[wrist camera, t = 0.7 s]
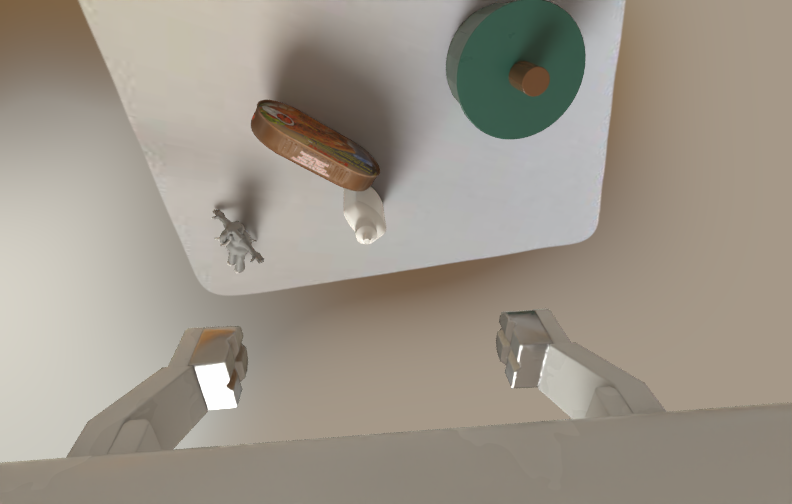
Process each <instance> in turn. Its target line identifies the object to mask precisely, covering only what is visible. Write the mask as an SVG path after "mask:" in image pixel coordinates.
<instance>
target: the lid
mask: <svg viewBox="0 0 792 504" xmlns="http://www.w3.org/2000/svg"><path fill="white" fill-rule="evenodd" d="M584 69H585V46H584V41H583V37H582V35H581V32H580V29H579V28H578V26H577V24H576V22H575V21H574V20H573V18H572V17H571V16H570V15H569V14H568V13H567V12H566V11H565V10H564V9H562V8H561V7H559V6H558V5H556V4H553V3H551V2H548V1H544V0H517V1H512V2H509V3H507V4H504V5H502V6H500V7H498V8H497V9H495V10H493V11H492V12H491V13H489V14H488V15H486V16H485V17H484V18H483V19H482V20H481V21H480V22H479V23H478V24H477V25H476V27H475V28H474V29H473V30H472V32H471V33H470V35H469V36H468V38H467V40H466V42H465V44H464V45H463V48H462V50H461V53H460V56H459V59H458V63H457V69H456V91H457V96H458V100H459V103H460V105H461V108H462V110H463V111H464V113H465V115H466V116H467V118H468V119H469V120H470V121H471V122H472V123H473V124H474V125H475V126H476V127H477V128H478V129H480V130H481V131H482V132H484V133H486V134H488V135H490V136H493V137H496V138H501V139H520V138H524V137H528V136H531V135H534V134H536V133H538V132H540V131H542V130H544V129H546V128H547V127H549V126H550V125H552V124H553V123H554V122H555V121H556V120H558V119H559V118H560V117H561V116H562V115H563V113H564V112H565V111H566V110H567V109H568V107H569V106H570V104H571V103H572V101H573V100H574V98H575V96H576V94H577V92H578V90H579V87H580V85H581V82H582V78H583V75H584Z"/></svg>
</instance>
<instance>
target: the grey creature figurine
mask: <svg viewBox="0 0 792 504" xmlns="http://www.w3.org/2000/svg"><path fill="white" fill-rule="evenodd" d="M214 211H215V212H214ZM214 211H213V213H214V214H215V215H216V216H215V217H212V219H219V220H220V221H222V222H223V225H224V227H225V230H224V231H223V232H222V234H221V235H220V237H219V238H215V239H217V240H220V242H221V245H220V246H226V248H227V249H228V251H229V258H228V261H227V264H228V265H229V266H231V265H234V264H236V266H235V269H234V272H235V273H240V272H242V271H243V270H244V269H245V263H244V258H245V254H246V253H247V252H248V251H249V252H250V253H251V255H252V259H251V261H250V262H252V261H253V260H254V259H256V260H257V261H258V262H259V263H260V262H261V263H262V262H264V258H263V257H262V256H261V255H260V253H258V252H256V251H255V250H254V249H253V247H252V245H251V243H252V242H251V241H256V240H253V239H250V235H249V234H248V232H247V231H246V230H244V226H243V225H242V223H240V222H239V221H235V222H231V221H229V220H228V219H227V218H225V215H224V213H222V212H221V211H220V210H217V209H216V210H215V209H214ZM261 260H262V261H261Z"/></svg>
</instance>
